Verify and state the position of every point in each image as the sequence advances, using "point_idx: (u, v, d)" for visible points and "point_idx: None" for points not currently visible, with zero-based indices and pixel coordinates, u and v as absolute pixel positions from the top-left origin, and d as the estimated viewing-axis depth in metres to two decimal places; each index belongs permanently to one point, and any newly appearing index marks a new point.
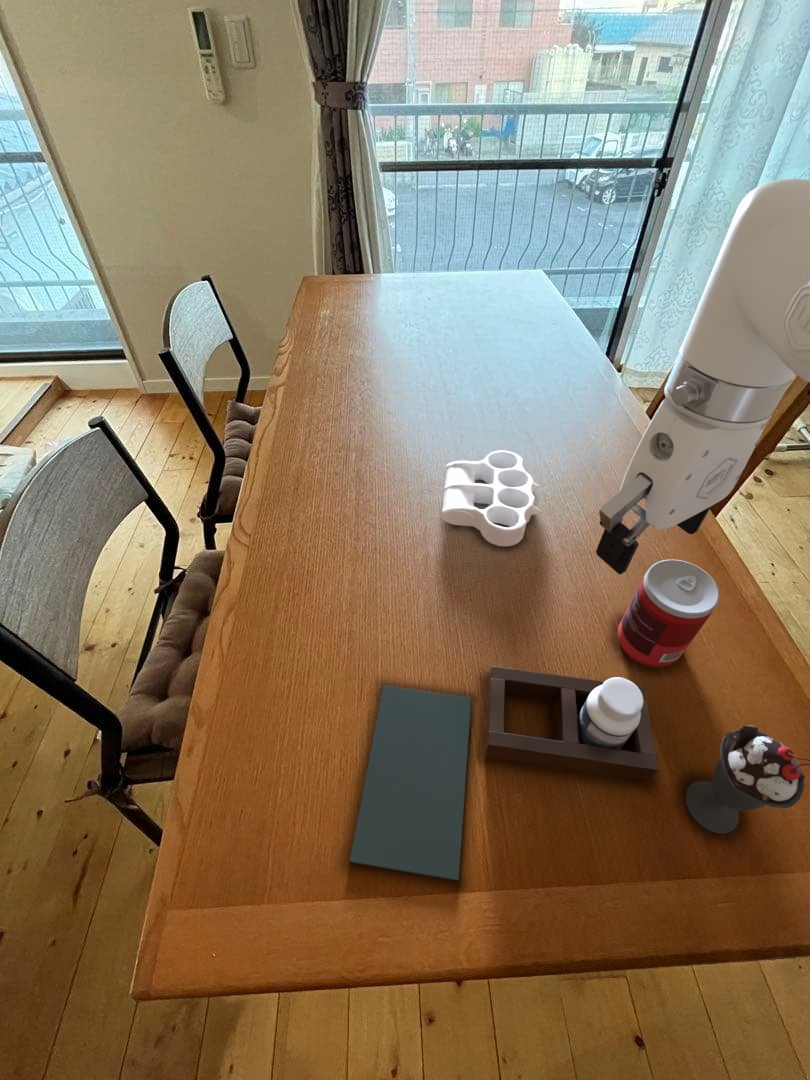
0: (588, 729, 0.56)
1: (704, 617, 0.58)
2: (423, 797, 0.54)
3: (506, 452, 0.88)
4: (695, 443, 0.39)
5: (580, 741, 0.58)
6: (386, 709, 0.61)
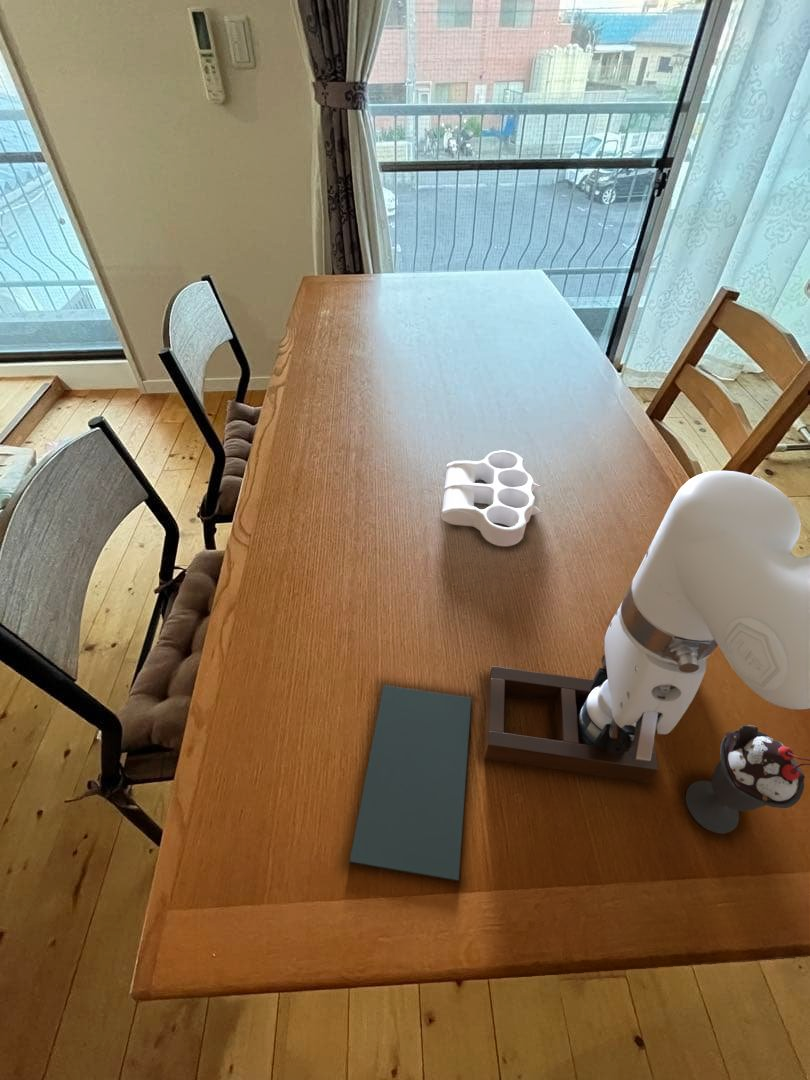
0: (588, 729, 0.56)
1: None
2: (423, 797, 0.54)
3: (506, 452, 0.88)
4: (698, 682, 0.42)
5: (580, 741, 0.58)
6: (386, 709, 0.61)
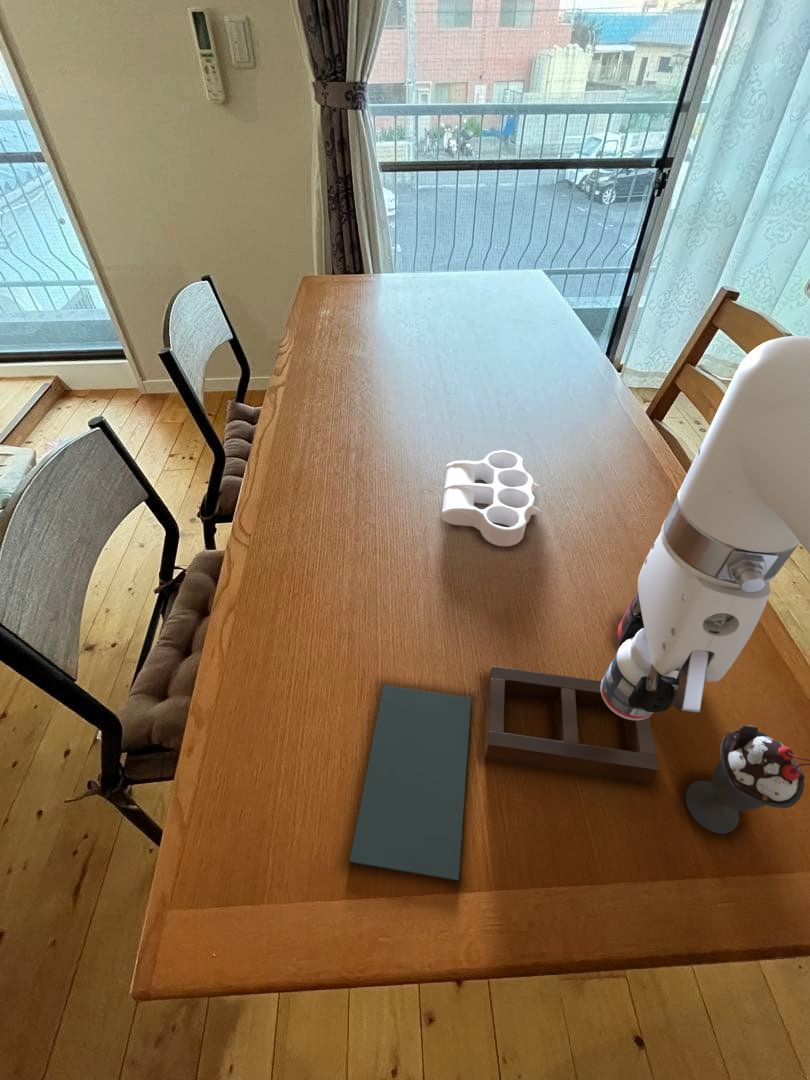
0: (618, 687, 0.49)
1: None
2: (423, 797, 0.54)
3: (506, 452, 0.88)
4: (761, 609, 0.35)
5: (608, 702, 0.51)
6: (386, 709, 0.61)
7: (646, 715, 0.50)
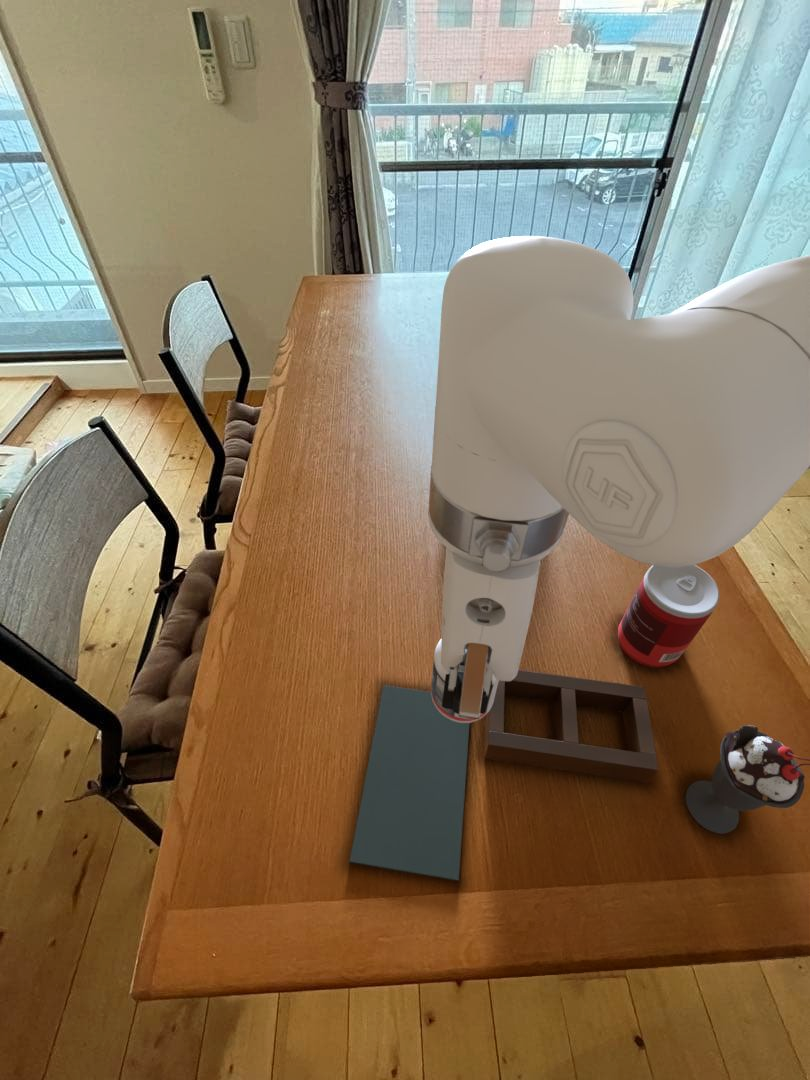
0: (437, 685, 0.42)
1: (704, 617, 0.58)
2: (423, 797, 0.54)
3: None
4: (528, 593, 0.29)
5: (435, 702, 0.45)
6: (386, 709, 0.61)
7: None
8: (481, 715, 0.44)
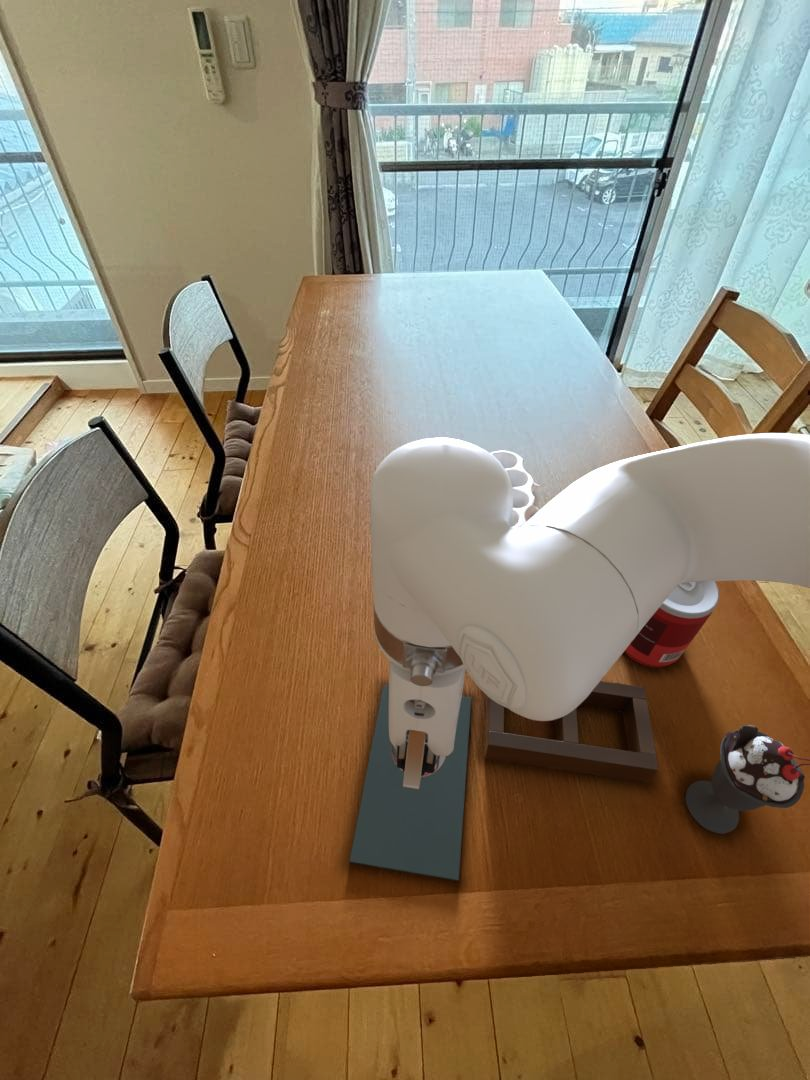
0: None
1: (704, 617, 0.58)
2: (423, 797, 0.54)
3: (506, 452, 0.88)
4: (452, 696, 0.35)
5: (394, 758, 0.51)
6: (386, 709, 0.61)
7: (426, 773, 0.50)
8: None
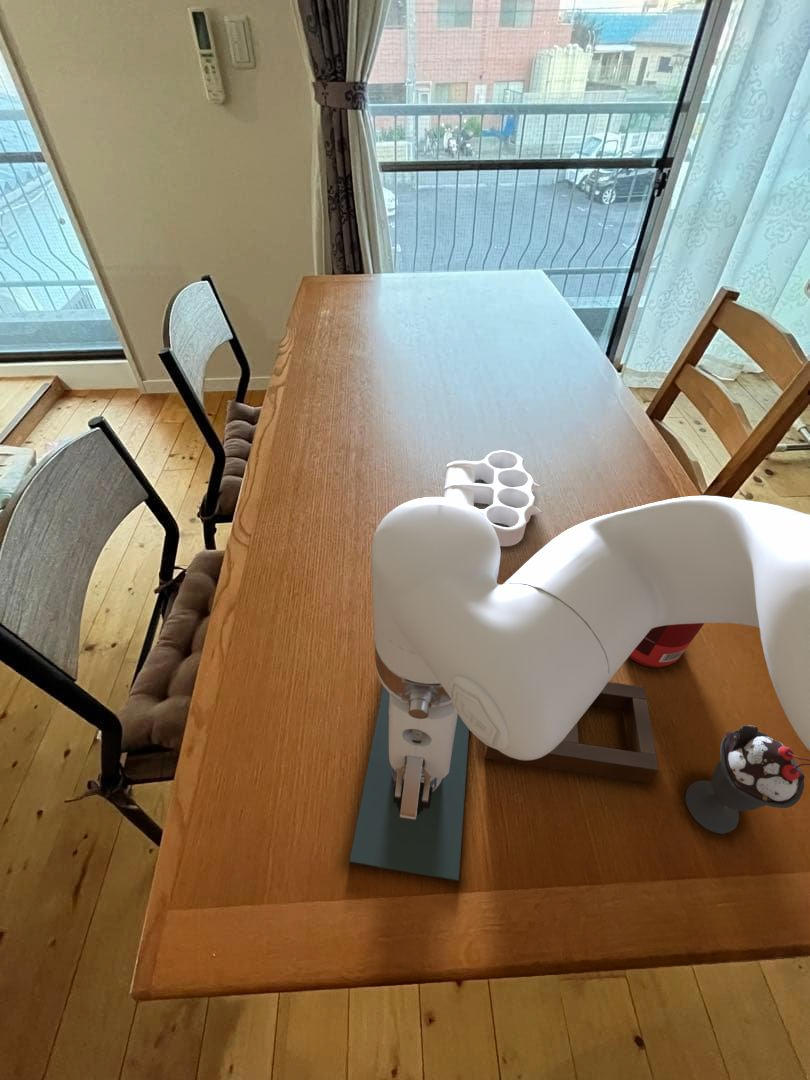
0: None
1: None
2: None
3: (506, 452, 0.88)
4: (447, 726, 0.38)
5: (394, 779, 0.55)
6: (386, 709, 0.61)
7: None
8: None
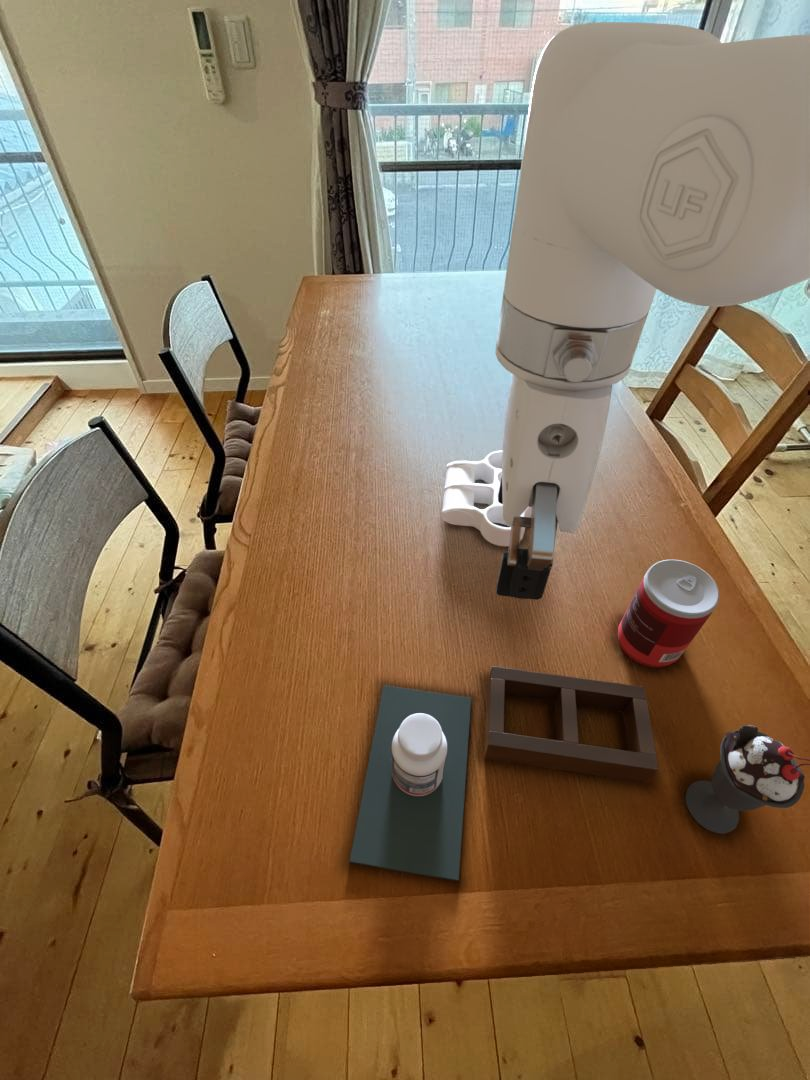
0: (394, 767, 0.52)
1: (704, 617, 0.58)
2: (423, 797, 0.54)
3: None
4: (601, 417, 0.29)
5: (394, 779, 0.55)
6: (386, 709, 0.61)
7: (425, 792, 0.54)
8: (431, 790, 0.54)
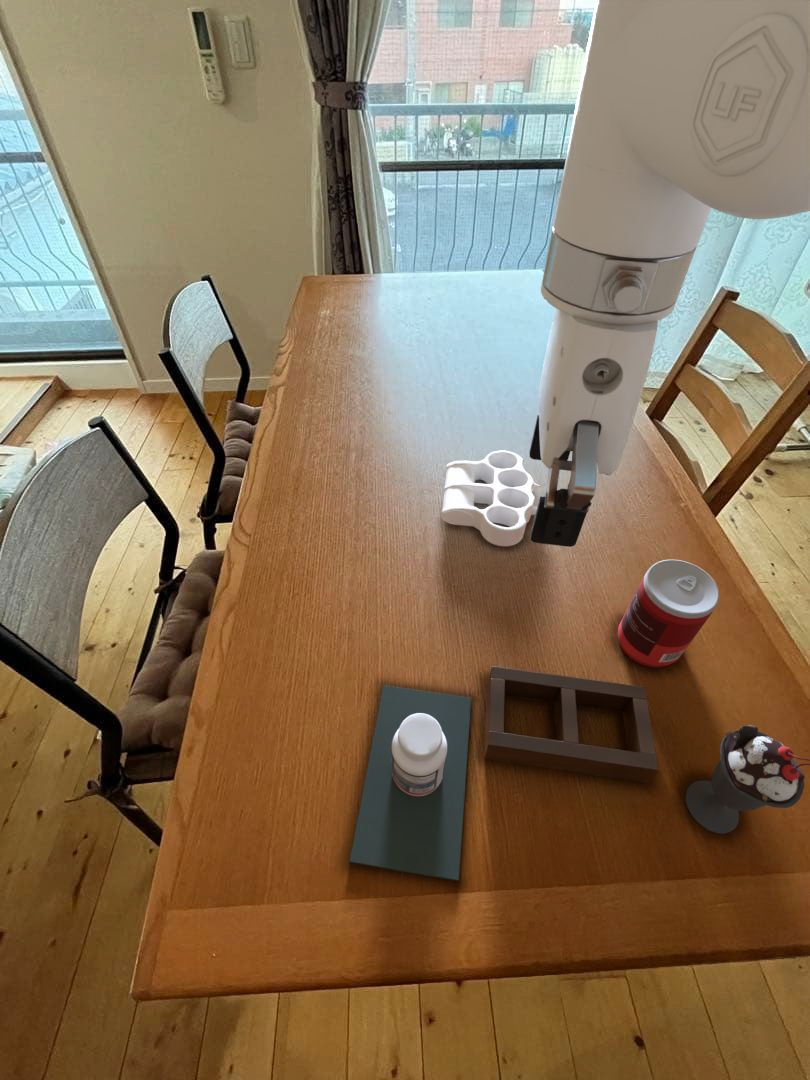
0: (394, 767, 0.52)
1: (704, 617, 0.58)
2: (423, 797, 0.54)
3: (506, 452, 0.88)
4: (647, 351, 0.30)
5: (394, 779, 0.55)
6: (386, 709, 0.61)
7: (425, 792, 0.54)
8: (431, 790, 0.54)
